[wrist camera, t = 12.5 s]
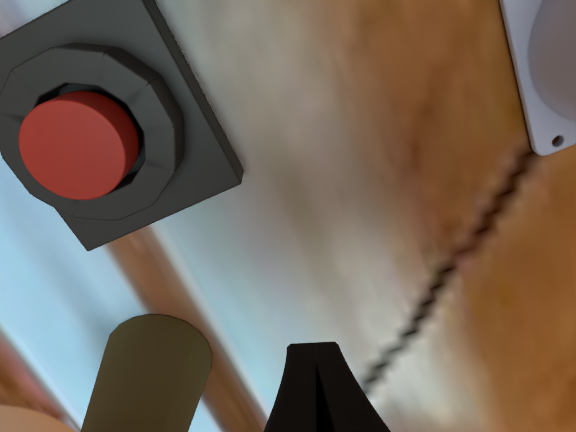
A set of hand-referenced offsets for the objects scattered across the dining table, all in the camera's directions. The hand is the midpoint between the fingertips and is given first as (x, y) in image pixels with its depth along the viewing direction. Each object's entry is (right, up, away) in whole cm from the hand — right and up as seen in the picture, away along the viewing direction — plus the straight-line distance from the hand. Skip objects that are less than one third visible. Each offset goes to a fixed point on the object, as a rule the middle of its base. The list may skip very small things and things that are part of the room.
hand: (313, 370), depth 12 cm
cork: (-8, -4, +13) cm, 16 cm away
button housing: (-8, +9, +7) cm, 14 cm away
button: (-8, +7, +4) cm, 12 cm away
